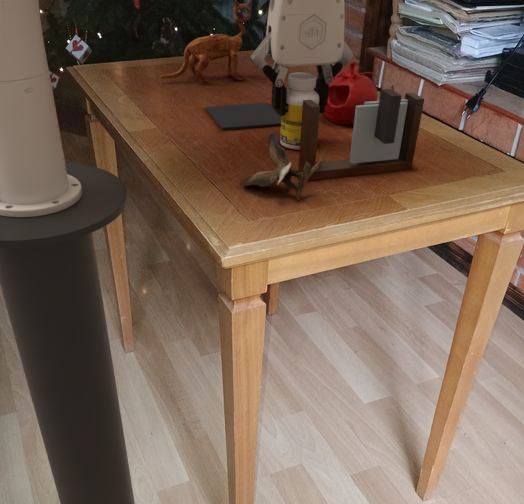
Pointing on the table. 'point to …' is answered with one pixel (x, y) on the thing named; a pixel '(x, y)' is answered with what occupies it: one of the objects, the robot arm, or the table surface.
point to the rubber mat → (244, 116)
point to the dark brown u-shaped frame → (344, 166)
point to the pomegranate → (348, 95)
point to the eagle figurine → (282, 169)
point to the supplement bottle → (296, 107)
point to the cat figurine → (215, 48)
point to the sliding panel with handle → (378, 129)
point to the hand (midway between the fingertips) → (299, 110)
